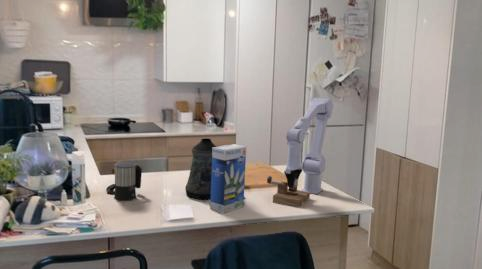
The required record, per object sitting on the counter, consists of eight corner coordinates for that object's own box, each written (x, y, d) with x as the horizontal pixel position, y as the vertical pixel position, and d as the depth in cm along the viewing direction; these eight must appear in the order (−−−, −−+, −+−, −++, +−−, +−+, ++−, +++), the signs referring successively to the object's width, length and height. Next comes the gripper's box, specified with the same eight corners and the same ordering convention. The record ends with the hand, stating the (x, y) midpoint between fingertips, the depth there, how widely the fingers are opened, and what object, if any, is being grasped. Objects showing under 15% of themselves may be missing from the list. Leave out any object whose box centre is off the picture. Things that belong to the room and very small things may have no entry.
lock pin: (268, 182, 218) (268, 175, 218) (284, 185, 215) (285, 178, 214) (266, 183, 217) (266, 176, 216) (283, 186, 213) (283, 179, 213)
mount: (284, 194, 222) (285, 179, 221) (309, 198, 217) (310, 183, 216) (272, 202, 210) (273, 186, 208) (298, 207, 205) (300, 190, 203)
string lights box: (222, 213, 192) (225, 150, 188) (208, 209, 197) (211, 147, 192) (244, 206, 202) (247, 146, 197) (230, 202, 207) (233, 143, 202)
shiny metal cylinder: (289, 189, 215) (290, 177, 214) (297, 190, 213) (298, 178, 212) (287, 191, 211) (288, 178, 210) (295, 192, 210) (296, 180, 209)
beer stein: (191, 202, 205) (192, 144, 201) (179, 189, 223) (180, 135, 218) (227, 199, 211) (230, 142, 207) (213, 186, 229) (215, 134, 225)
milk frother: (130, 202, 201) (130, 167, 199) (95, 198, 204) (95, 164, 202) (144, 192, 215) (144, 160, 212) (111, 189, 218) (111, 157, 215)
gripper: (297, 160, 202) (295, 191, 204) (308, 154, 215) (306, 183, 217) (281, 157, 205) (279, 188, 207) (293, 152, 218) (291, 181, 220)
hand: (292, 186), depth 212 cm, fingers closed on shiny metal cylinder, 4 cm apart
